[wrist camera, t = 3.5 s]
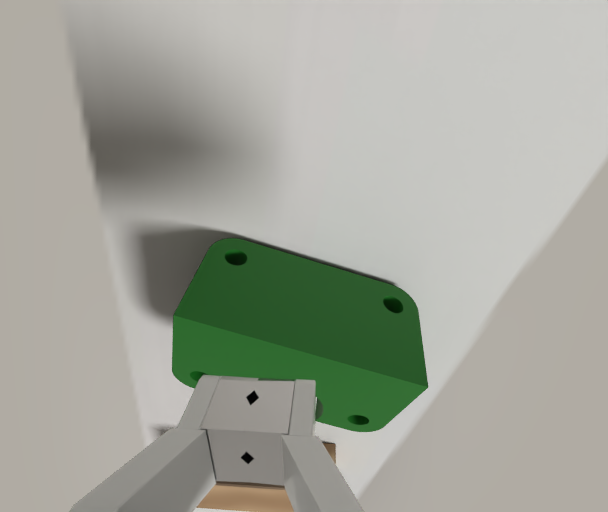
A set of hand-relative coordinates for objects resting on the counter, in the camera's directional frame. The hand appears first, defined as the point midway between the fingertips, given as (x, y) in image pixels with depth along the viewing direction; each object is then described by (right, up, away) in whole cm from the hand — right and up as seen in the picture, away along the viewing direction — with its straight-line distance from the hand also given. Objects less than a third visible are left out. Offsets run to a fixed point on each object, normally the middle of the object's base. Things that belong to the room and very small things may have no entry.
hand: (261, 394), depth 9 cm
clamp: (+1, +1, +12) cm, 12 cm away
